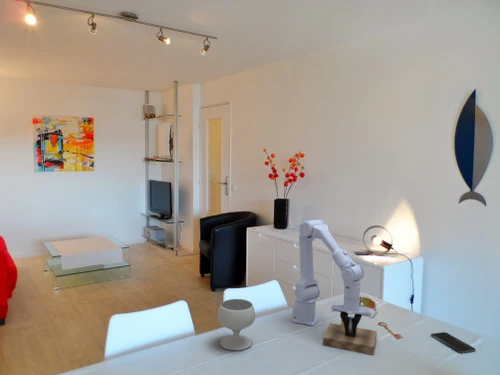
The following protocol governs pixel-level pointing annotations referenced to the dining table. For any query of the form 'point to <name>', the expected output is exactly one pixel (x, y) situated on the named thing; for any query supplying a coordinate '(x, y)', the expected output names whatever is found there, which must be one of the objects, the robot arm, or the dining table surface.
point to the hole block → (350, 339)
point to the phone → (453, 342)
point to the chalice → (236, 322)
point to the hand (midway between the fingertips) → (350, 332)
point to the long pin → (350, 327)
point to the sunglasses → (368, 303)
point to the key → (391, 331)
